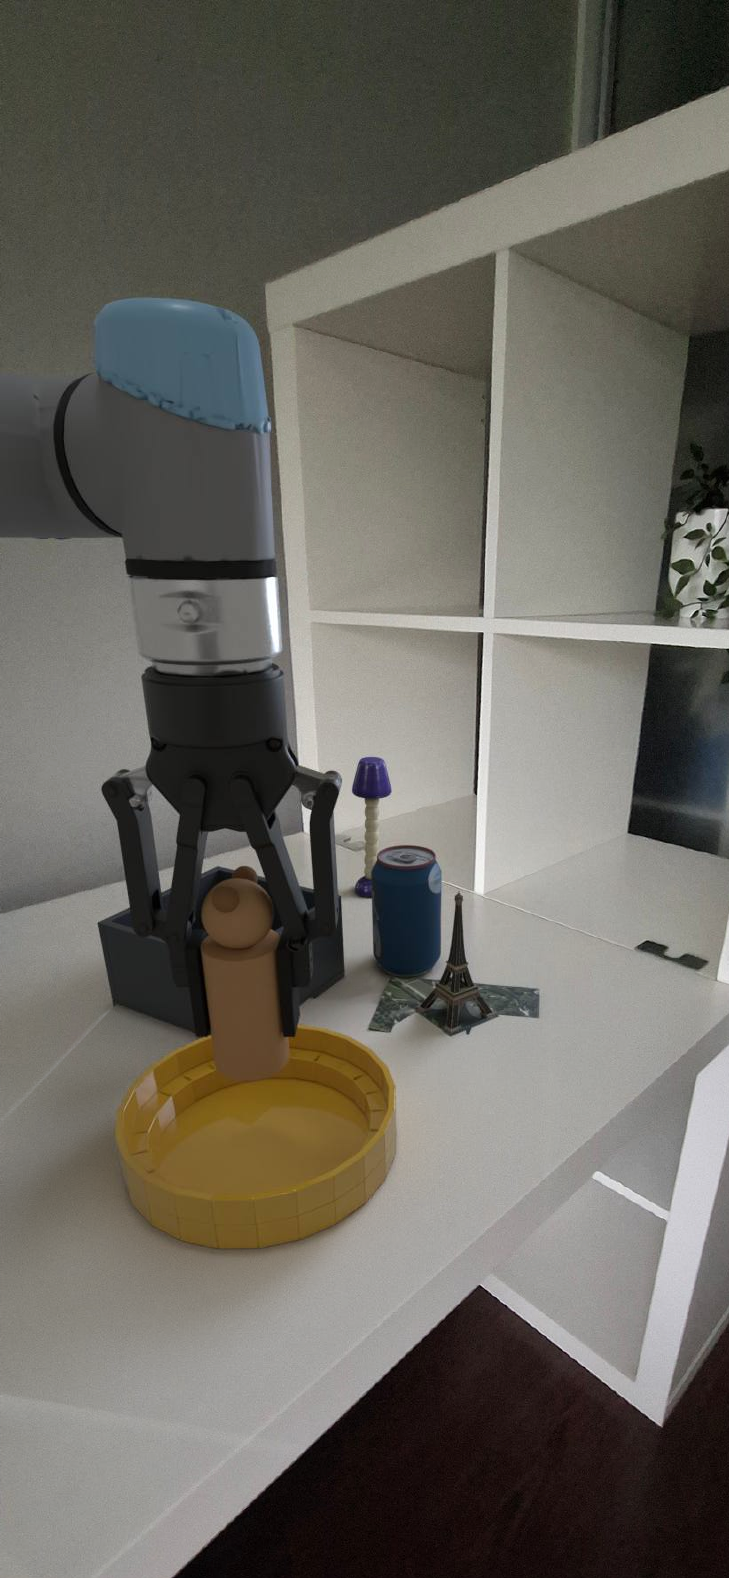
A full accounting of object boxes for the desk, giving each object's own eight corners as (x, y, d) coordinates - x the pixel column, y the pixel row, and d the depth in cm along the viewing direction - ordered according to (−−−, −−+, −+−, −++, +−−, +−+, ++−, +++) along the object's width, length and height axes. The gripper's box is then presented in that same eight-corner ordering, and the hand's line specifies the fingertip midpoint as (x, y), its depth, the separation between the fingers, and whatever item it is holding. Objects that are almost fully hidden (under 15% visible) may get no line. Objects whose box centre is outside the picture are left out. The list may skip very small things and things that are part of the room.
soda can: (454, 961, 83) (456, 853, 78) (411, 987, 79) (410, 874, 73) (403, 942, 87) (402, 837, 82) (359, 965, 82) (355, 856, 77)
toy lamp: (395, 885, 101) (394, 754, 94) (389, 900, 97) (386, 765, 90) (358, 883, 102) (354, 753, 95) (350, 897, 98) (345, 763, 91)
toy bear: (202, 1077, 53) (177, 889, 47) (231, 1035, 57) (211, 858, 51) (276, 1085, 52) (259, 896, 46) (298, 1042, 57) (286, 864, 51)
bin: (113, 1006, 75) (96, 922, 71) (226, 940, 87) (217, 865, 84) (241, 1054, 68) (231, 963, 65) (345, 975, 81) (341, 895, 77)
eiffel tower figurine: (541, 993, 78) (552, 865, 72) (537, 1053, 69) (548, 912, 63) (390, 980, 80) (388, 854, 74) (367, 1036, 71) (362, 898, 65)
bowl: (65, 1185, 55) (51, 1133, 53) (249, 1045, 70) (244, 1001, 68) (288, 1303, 46) (282, 1246, 44) (442, 1115, 61) (443, 1067, 59)
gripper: (12, 672, 40) (92, 1058, 50) (377, 675, 40) (382, 1058, 50) (70, 651, 46) (130, 995, 57) (382, 654, 47) (385, 996, 57)
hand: (249, 1024), depth 53 cm, fingers closed on toy bear, 5 cm apart
